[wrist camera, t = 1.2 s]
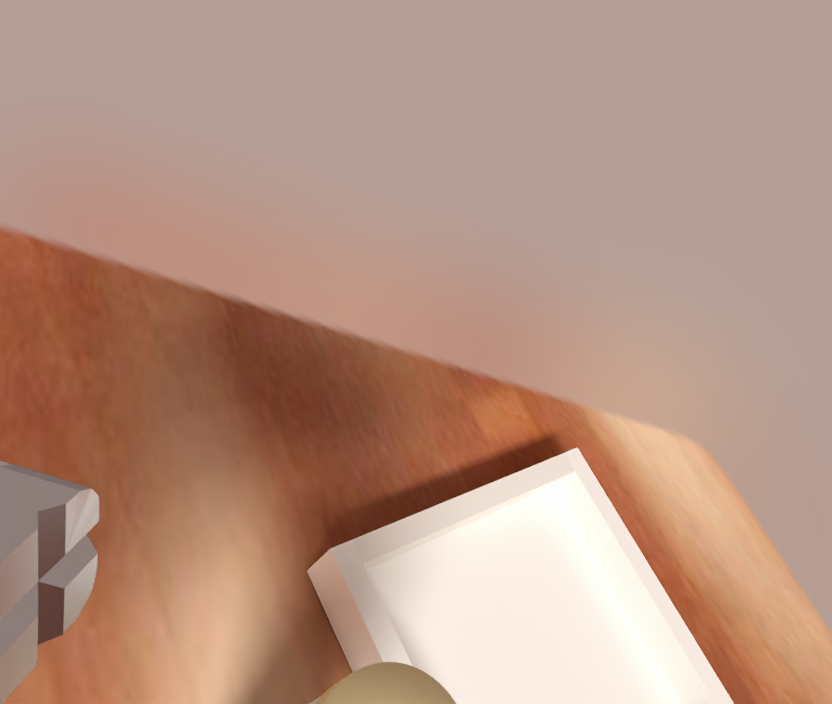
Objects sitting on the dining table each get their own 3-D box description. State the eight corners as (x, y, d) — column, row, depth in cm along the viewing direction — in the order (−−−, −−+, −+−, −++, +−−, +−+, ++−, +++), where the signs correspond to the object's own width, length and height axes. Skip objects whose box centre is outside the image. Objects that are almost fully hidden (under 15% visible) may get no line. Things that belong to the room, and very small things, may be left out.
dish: (306, 570, 37) (330, 548, 34) (547, 469, 47) (577, 447, 45) (486, 968, 31) (527, 972, 29) (714, 750, 42) (756, 741, 39)
